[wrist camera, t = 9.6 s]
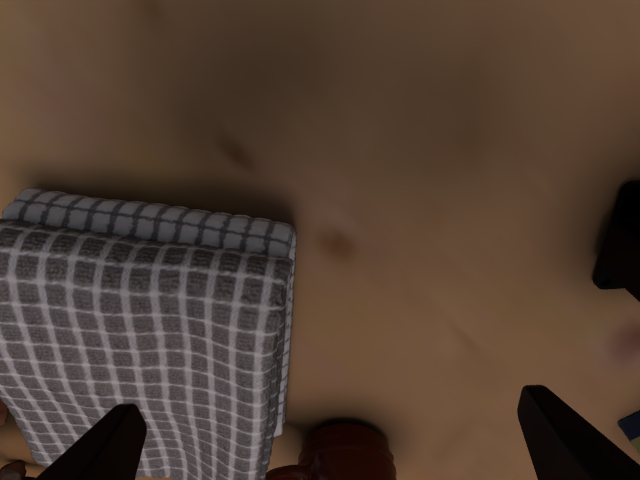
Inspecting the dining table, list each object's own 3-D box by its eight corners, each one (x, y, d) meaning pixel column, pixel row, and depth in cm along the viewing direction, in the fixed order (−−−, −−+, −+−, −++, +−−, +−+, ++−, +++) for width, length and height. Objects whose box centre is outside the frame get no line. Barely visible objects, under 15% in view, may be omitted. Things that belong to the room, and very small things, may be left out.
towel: (306, 204, 21) (294, 293, 14) (286, 416, 30) (273, 532, 23) (23, 174, 21) (-128, 251, 14) (90, 399, 30) (18, 512, 23)
